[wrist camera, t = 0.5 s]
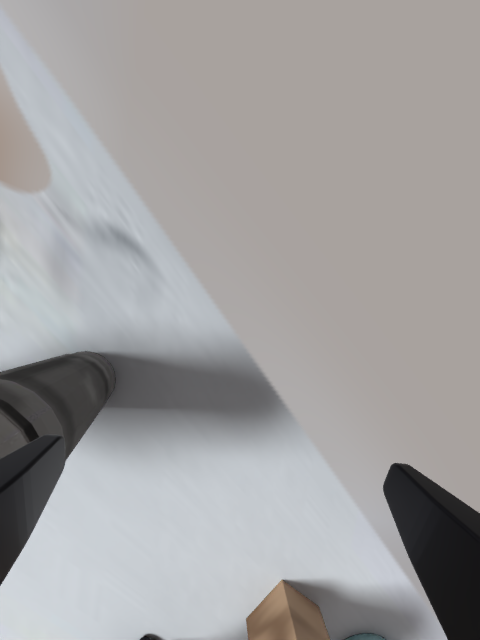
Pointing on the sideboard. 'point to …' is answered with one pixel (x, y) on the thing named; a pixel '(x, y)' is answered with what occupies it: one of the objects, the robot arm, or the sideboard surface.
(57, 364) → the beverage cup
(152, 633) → the sideboard surface
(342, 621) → the sideboard surface
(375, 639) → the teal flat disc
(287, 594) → the block
